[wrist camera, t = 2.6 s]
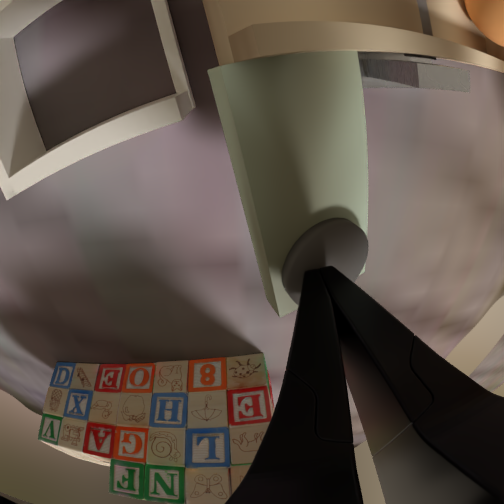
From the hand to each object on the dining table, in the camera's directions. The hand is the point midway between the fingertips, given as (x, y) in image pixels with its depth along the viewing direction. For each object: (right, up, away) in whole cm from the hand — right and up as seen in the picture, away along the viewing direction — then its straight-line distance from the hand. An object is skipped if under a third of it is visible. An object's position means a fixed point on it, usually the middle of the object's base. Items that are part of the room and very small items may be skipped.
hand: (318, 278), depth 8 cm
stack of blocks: (-11, -11, +15) cm, 22 cm away
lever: (+4, +7, -1) cm, 8 cm away
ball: (+8, +10, -4) cm, 14 cm away
